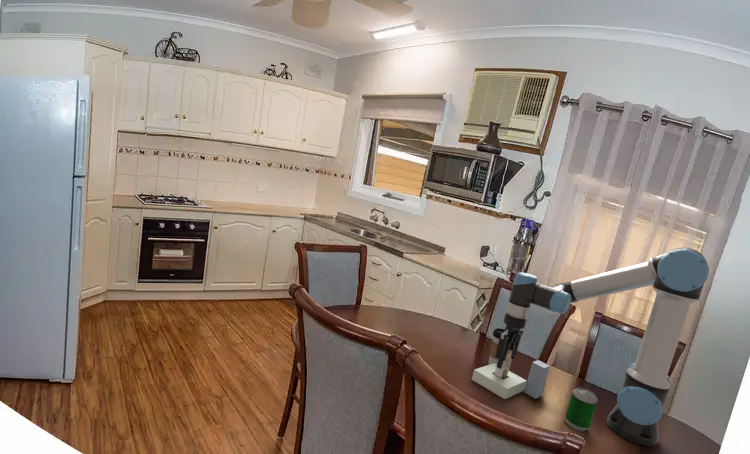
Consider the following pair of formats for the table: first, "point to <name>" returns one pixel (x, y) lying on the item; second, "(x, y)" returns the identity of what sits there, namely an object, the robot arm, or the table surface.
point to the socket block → (499, 381)
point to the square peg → (536, 379)
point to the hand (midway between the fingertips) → (500, 374)
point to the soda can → (581, 409)
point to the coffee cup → (495, 345)
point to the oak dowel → (506, 364)
